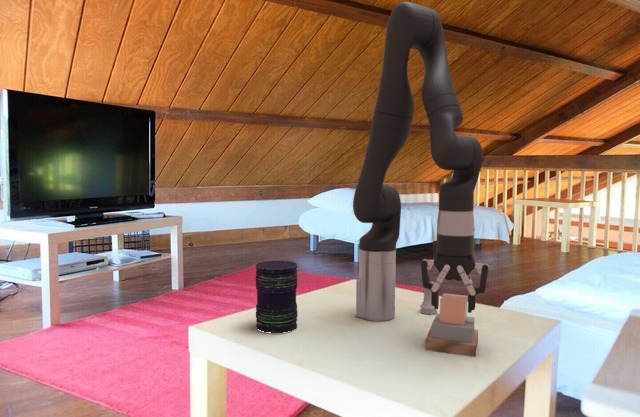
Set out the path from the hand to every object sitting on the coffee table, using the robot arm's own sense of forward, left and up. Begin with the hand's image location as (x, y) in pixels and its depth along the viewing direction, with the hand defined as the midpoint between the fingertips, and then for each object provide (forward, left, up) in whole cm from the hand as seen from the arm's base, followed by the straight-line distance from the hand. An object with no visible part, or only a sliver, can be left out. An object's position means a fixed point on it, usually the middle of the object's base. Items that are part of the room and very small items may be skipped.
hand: (453, 309), depth 102 cm
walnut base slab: (0, 0, -8) cm, 8 cm away
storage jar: (-40, -3, -8) cm, 41 cm away
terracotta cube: (0, 0, -2) cm, 2 cm away
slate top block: (0, 0, -5) cm, 5 cm away
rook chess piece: (-8, +22, -8) cm, 25 cm away
